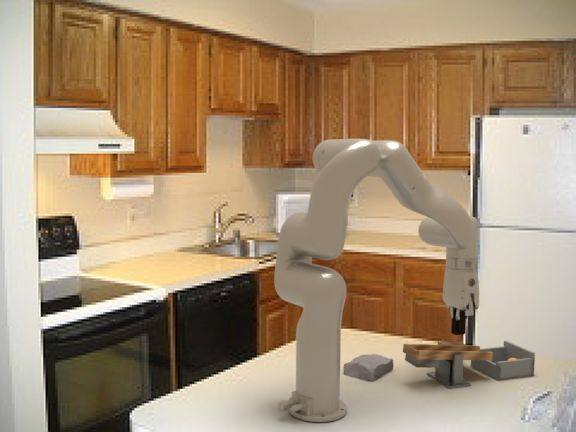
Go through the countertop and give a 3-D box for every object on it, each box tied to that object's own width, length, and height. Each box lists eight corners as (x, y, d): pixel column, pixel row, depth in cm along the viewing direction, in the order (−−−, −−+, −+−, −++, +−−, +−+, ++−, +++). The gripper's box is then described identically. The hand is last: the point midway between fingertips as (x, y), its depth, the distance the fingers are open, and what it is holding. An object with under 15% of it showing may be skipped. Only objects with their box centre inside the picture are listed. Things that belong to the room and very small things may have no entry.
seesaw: (414, 367, 148) (416, 351, 148) (386, 350, 161) (388, 335, 161) (490, 368, 156) (493, 352, 156) (458, 352, 168) (460, 337, 168)
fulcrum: (449, 388, 150) (450, 356, 149) (426, 374, 159) (427, 344, 159) (470, 385, 152) (471, 354, 151) (447, 372, 161) (448, 342, 161)
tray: (497, 380, 156) (498, 357, 155) (470, 366, 166) (471, 344, 165) (533, 375, 159) (534, 352, 159) (505, 362, 170) (506, 340, 169)
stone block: (340, 382, 159) (375, 382, 153) (338, 363, 159) (372, 363, 154) (363, 371, 169) (397, 371, 163) (360, 353, 169) (394, 352, 163)
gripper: (491, 268, 156) (488, 340, 157) (456, 258, 170) (454, 325, 171) (465, 269, 153) (462, 343, 155) (432, 259, 167) (430, 327, 169)
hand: (458, 333), depth 163 cm, fingers closed
